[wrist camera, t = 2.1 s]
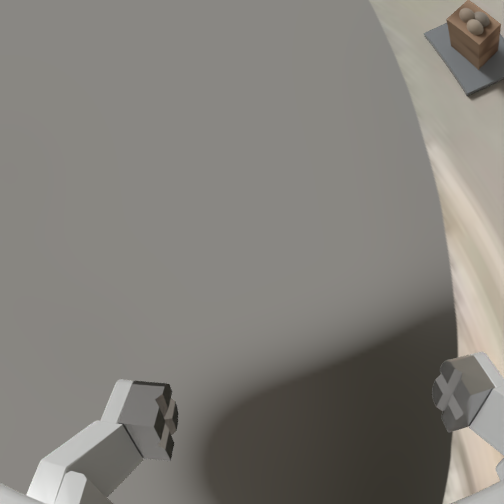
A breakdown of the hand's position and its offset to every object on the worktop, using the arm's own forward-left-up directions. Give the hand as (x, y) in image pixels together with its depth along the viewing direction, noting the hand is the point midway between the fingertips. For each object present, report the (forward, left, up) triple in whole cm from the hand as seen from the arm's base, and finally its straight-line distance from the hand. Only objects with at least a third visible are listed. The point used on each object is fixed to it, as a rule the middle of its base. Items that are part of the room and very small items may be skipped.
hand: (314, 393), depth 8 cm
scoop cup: (-22, -25, -40) cm, 51 cm away
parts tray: (-22, -25, -41) cm, 52 cm away
